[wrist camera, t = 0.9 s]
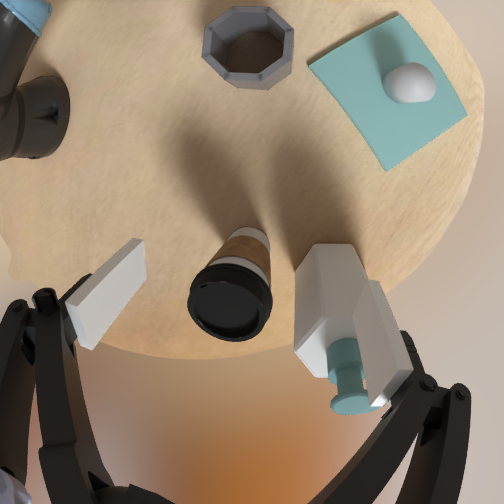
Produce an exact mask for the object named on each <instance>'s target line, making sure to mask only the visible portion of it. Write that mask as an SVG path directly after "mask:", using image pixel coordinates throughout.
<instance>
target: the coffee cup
mask: <svg viewBox="0 0 504 504" xmlns="http://www.w3.org/2000/svg"><path fill="white" fill-rule="evenodd" d="M272 306H273V298H272V293H271V267H270V243H269V240H268V238H267V237H266V235H265V234H264V233H263V232H261V231H260V230H258V229H256V228H252V227H243V228H240V229H238V230H236V231H235V232H233V233H232V234H231V236H230V237H229V238H228V240H227V241H226V242H225V243H224V244H223V246H222V247H221V248H220V249H219V250H218V252H217V253H216V254H215V255H214V257H213V258H212V259H211V260H210V261H209V263H208V264H207V265H206V267H205V268H204V269H203V270H201V271H200V272H199V273H198V274H197V275H196V277H195V279H194V280H193V282H192V284H191V287H190V294H189V297H188V301H187V308H188V311H189V314H190V315H191V317H192V319H193V320H194V322H195V323H196V324H197V325H198V326H199V327H200V328H201V329H202V330H204V331H205V332H206V333H208V334H210V335H211V336H213V337H216V338H218V339H221V340H224V341H230V342H241V341H246V340H249V339H252V338H253V337H255V336H256V335H258V334H259V333H260V332H261V330H262V329H263V327H264V325H265V323H266V322H267V320H268V318H269V317H270V313H271V309H272Z"/></svg>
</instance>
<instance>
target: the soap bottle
mask: <svg viewBox="0 0 504 504" xmlns="http://www.w3.org/2000/svg"><path fill="white" fill-rule="evenodd" d="M367 279H368V276H367V274H366V272H365V269H364V267H363V265H362V263H361V261H360V259H359V257H358V255H357V253H356V251H355V249H354V247H353V245H351V244H314V245H313V246H312V247H311V249H310V250H309V252H308V253H307V255H306V256H305V258H304V259H303V261H302V262H301V264H300V265H299V267H298V268H297V270H296V271H295V323H294V352H295V353H296V354H297V356H298V357H299V358H300V359H301V361H302V362H303V363H304V364H305V365H306V367H307V368H308V369H309V370H310V372H311V373H312V374H313V375H314V376H315V377H328V379H329V381H330V382H331V383H333V384H335V385H337V388H338V395H336V396H335V397H334V398H333V399H332V400H331V404H330V406H331V409H332V410H333V411H334V412H335V413H337V414H341V415H355V414H363V413H368V412H372V411H374V410H376V409H378V408H380V407H381V406H370V403H369V397H368V391H367V390H365V389H364V388H363V382H362V380H363V379H364V378H365V374H364V369H363V364H362V359H361V354H360V349H359V344H358V340H357V335H356V331H355V326H354V322H353V318H352V315H353V313H354V310H355V308H356V306H357V303H358V301H359V298H360V296H361V293H362V291H363V288H364V286H365V283H366V281H367Z"/></svg>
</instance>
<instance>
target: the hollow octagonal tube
mask: <svg viewBox="0 0 504 504" xmlns="http://www.w3.org/2000/svg"><path fill="white" fill-rule="evenodd" d="M246 32H262V33H271V34H272V35H273V36H274V37H275V38H276V39H277V40H278V41H279V42H281V43H282V44H283V45H284V50H283V57H281V58H280V59H278V60H277V61H276V62H274V63H273V64H271V65H270V66H269V67H267V68H266V69H264V70H263V71H262V72H260V73H259V74H256V73H233V72H231V71H230V70H229V69H228V68H227V67H226V58H227V49H228V45H229V44H231V43H232V42H233V41H235V40H236V39H237V38H239V37H240V36H241V35H243V34H244V33H246ZM293 48H294V29H293V28H292V27H291V26H290V25H289V24H288V23H287V22H286V21H285V20H284V19H282V18H281V17H280V16H279V15H278V14H277V13H276V12H275V11H273V10H272V9H271V8H270V7H256V6H233V7H231V8H230V9H229V10H227V11H226V12H224V13H223V14H222V15H220V16H219V17H218V18H216V19H215V20H214V21H212V22H211V23H210V24H209V25H207V26H206V27H205V33H204V41H203V49H202V58H203V59H204V60H205V61H206V62H207V63H208V64H209V65H210V66H211V67H212V68H213V69H214V70H215V71H216V72H217V73H218V74H219V75H220V76H221V77H222V78H223V79H224V80H225V81H227V82H229V83H230V84H232V85H233V86H235V87H237V88H246V89H261V90H268V89H270V88H271V87H272V86H274V85H275V84H277V83H278V82H279V81H281V80H282V79H283V78H285V77H286V76H288V75H289V74H291V69H292V59H293Z"/></svg>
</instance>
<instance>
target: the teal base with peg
mask: <svg viewBox="0 0 504 504" xmlns="http://www.w3.org/2000/svg"><path fill="white" fill-rule="evenodd" d="M308 67H309V68H310V70H311V71H312V72H313V73H314V74H315V75H316V76H317V78H318V79H319V80H320V81H321V82H322V83H323V85H324V86H325V87H326V88H327V89H328V91H329V92H330V93H331V94H332V96H333V97H334V98H335V99H336V101H337V102H338V103H339V104H340V106H341V107H342V108H343V110H344V111H345V112H346V114H347V115H348V116H349V118H350V119H351V120H352V122H353V123H354V125H355V126H356V127H357V129H358V130H359V132H360V133H361V135H362V136H363V137H364V139H365V140H366V142H367V143H368V145H369V146H370V148H371V149H372V151H373V153H374V154H375V156H376V157H377V159H378V160H379V162H380V164H381V165H382V167H383V169H384V170H385V171H386V172H387V171H389V170H390V169H391V168H393V167H394V166H396V165H397V164H399V163H400V162H402V161H403V160H404V159H406V158H407V157H409V156H410V155H412V154H413V153H415V152H416V151H417V150H419V149H420V148H422V147H423V146H425V145H426V144H427V143H429V142H430V141H432V140H433V139H435V138H436V137H437V136H439V135H440V134H442V133H443V132H444V131H446V130H447V129H449V128H450V127H452V126H453V125H454V124H456V123H457V122H459V121H460V120H461V119H463V118H464V117H466V116H467V112H466V110H465V108H464V107H463V105H462V103H461V101H460V99H459V97H458V95H457V93H456V92H455V90H454V88H453V86H452V85H451V83H450V81H449V80H448V78H447V76H446V75H445V73H444V72H443V70H442V68H441V67H440V65H439V64H438V62H437V61H436V59H435V58H434V56H433V55H432V53H431V52H430V51H429V49H428V48H427V46H426V45H425V44H424V42H423V41H422V40H421V38H420V37H419V36H418V35H417V33H416V32H415V31H414V29H413V28H412V27H411V26H410V25H409V23H408V22H407V21H406V20H405V19H404V18H403V16H402V15H401V14H400V15H398V16H396V17H394V18H392V19H390V20H388V21H385V22H383V23H381V24H379V25H377V26H376V27H374V28H372V29H370V30H368V31H366V32H364V33H362V34H360V35H359V36H357V37H355V38H353V39H351V40H350V41H348V42H346V43H345V44H343V45H341V46H339V47H338V48H336V49H334V50H333V51H331V52H330V53H328V54H326V55H325V56H323V57H322V58H320V59H318V60H317V61H315V62H314V63H312V64H311V65H309V66H308Z"/></svg>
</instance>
